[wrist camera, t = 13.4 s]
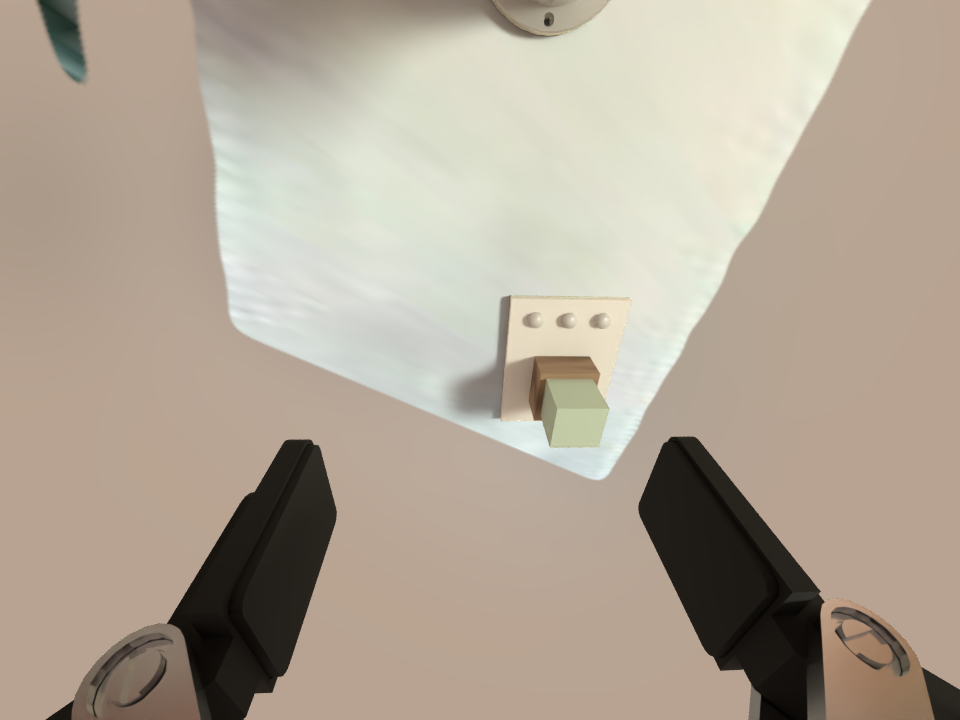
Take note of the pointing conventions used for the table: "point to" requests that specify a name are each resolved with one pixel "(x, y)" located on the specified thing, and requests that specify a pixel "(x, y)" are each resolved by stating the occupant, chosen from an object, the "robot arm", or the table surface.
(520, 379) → the snap baseplate
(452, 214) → the table surface
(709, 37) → the table surface
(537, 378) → the walnut block
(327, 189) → the table surface
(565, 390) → the sage block
